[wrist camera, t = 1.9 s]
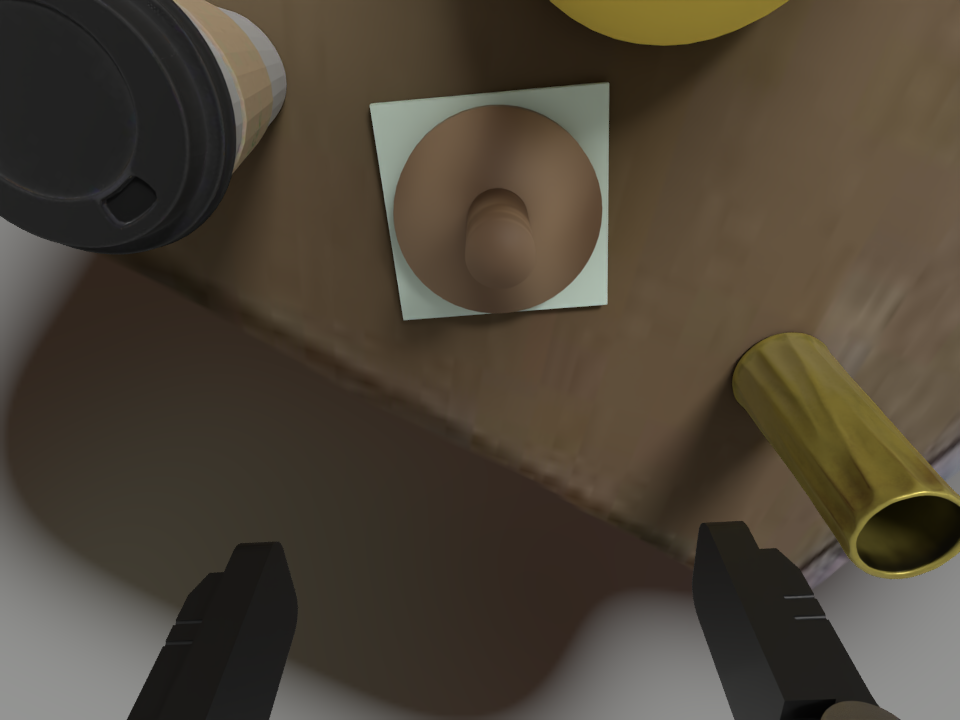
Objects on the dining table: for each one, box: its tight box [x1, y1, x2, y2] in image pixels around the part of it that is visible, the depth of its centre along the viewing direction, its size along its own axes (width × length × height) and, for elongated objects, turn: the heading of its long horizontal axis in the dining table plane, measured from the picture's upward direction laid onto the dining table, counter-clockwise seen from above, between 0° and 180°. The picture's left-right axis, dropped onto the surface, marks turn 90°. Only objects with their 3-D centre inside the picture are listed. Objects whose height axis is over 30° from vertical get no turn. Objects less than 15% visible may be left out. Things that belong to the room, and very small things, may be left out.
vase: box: [732, 332, 960, 579], centre depth 35 cm, size 6×6×14 cm
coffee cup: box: [0, 0, 287, 254], centre depth 26 cm, size 9×9×15 cm
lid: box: [393, 105, 602, 313], centre depth 32 cm, size 11×11×7 cm
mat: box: [370, 82, 609, 320], centre depth 36 cm, size 12×12×1 cm
